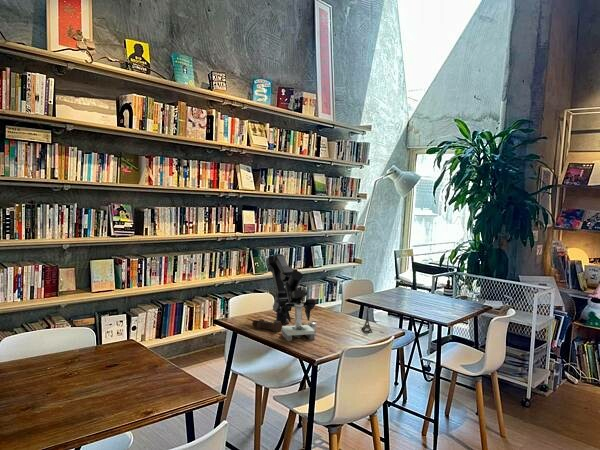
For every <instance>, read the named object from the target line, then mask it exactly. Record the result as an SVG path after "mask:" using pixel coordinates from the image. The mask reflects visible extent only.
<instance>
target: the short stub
mask: <svg viewBox="0 0 600 450" xmlns="http://www.w3.org/2000/svg"><path fill="white" fill-rule="evenodd" d="M307 325H309V326H310V327H311V328H312V329H313V330H315V334H316V331H317V330H316V329H317V326H318V322H316V321H308V323H307Z"/></svg>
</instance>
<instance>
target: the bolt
mask: <svg viewBox="0 0 600 450" xmlns="http://www.w3.org/2000/svg"><path fill="white" fill-rule="evenodd" d="M251 324H252V327H255V328H257V329H258V330H262V329H267V330H272V331H274V333H280V332H282V326H283V324H282V323H281V322H280V321H277V322H275V321H274V322H270V321H265V319H263V318H262V319H258V320H256V319H254V320H252V322H251Z"/></svg>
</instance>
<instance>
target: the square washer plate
mask: <svg viewBox="0 0 600 450" xmlns="http://www.w3.org/2000/svg"><path fill="white" fill-rule="evenodd" d="M315 334H316V333H315V330H313V329H312V328H311V327H310V326H309V325H308V324H302V330H295V325H282V329H281V336H283V338H284V339H285V340H286V341H287V342H291V341H293V336H295V335H301V336H303V335H305V336H306V337H307V338H309V340H310V341H311V340H315V339H316V336H315Z"/></svg>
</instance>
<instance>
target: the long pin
mask: <svg viewBox="0 0 600 450" xmlns="http://www.w3.org/2000/svg"><path fill="white" fill-rule="evenodd" d="M294 306H295V307H294V308H295V311H294V315H295V316H294V326H295V330H302V325H303V307H304V304H302V303H295V304H294ZM293 336H294V338H295V339H301V338H302V335H293Z"/></svg>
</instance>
